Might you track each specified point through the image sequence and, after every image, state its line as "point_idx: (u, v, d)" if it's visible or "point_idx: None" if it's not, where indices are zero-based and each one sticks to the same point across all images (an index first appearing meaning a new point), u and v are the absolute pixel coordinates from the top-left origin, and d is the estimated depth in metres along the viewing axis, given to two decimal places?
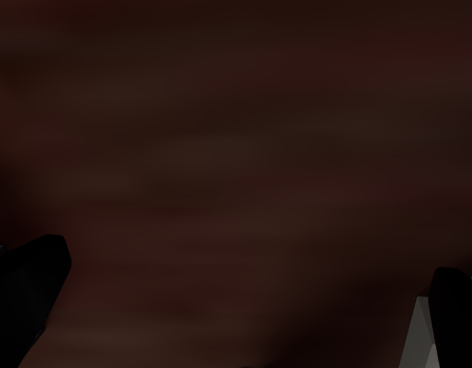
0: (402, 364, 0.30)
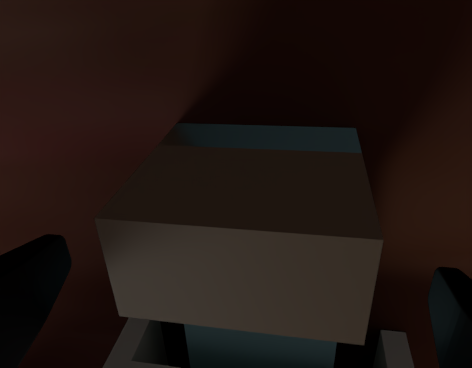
0: None
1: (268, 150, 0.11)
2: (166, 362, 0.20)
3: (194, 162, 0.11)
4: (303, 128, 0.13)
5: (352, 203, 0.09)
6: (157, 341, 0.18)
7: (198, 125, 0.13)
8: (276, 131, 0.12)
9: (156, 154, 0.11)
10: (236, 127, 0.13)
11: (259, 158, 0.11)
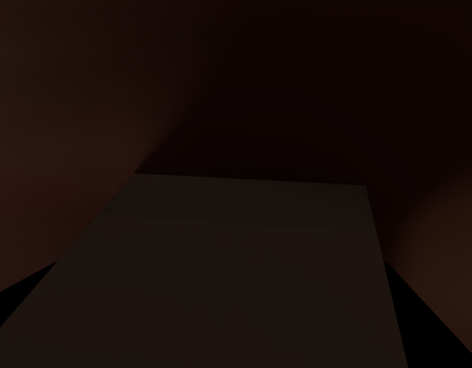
0: None
1: (247, 227, 0.08)
2: None
3: (140, 248, 0.08)
4: (296, 186, 0.10)
5: (369, 347, 0.05)
6: None
7: (159, 179, 0.10)
8: (260, 191, 0.09)
9: (91, 232, 0.08)
10: (208, 183, 0.10)
11: (233, 243, 0.08)
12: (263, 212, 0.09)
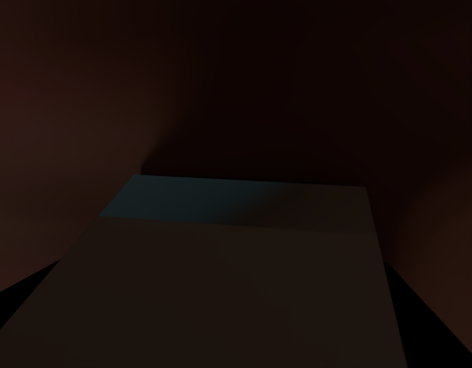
0: None
1: (247, 229, 0.08)
2: None
3: (140, 250, 0.08)
4: (296, 188, 0.10)
5: (369, 350, 0.05)
6: None
7: (159, 180, 0.10)
8: (260, 193, 0.09)
9: (91, 234, 0.08)
10: (208, 185, 0.10)
11: (232, 244, 0.08)
12: (263, 214, 0.09)
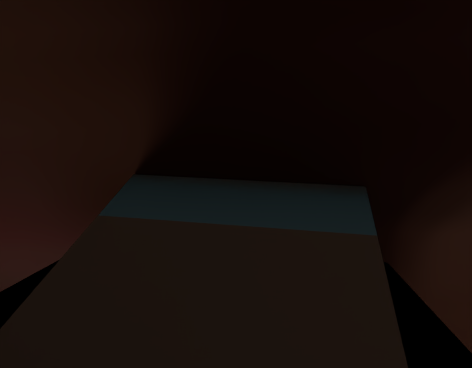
0: None
1: (247, 228, 0.08)
2: None
3: (140, 250, 0.08)
4: (296, 187, 0.10)
5: (369, 349, 0.05)
6: None
7: (159, 180, 0.10)
8: (260, 192, 0.09)
9: (91, 233, 0.08)
10: (208, 185, 0.10)
11: (232, 245, 0.08)
12: (263, 213, 0.09)
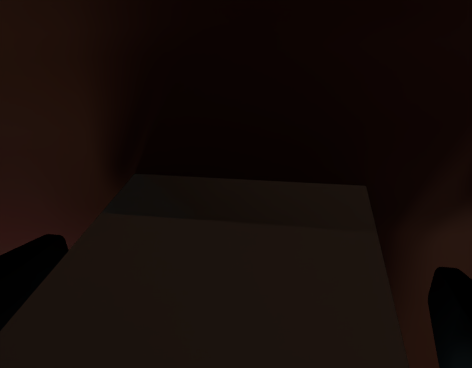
0: None
1: (249, 225, 0.08)
2: None
3: (143, 247, 0.08)
4: (297, 185, 0.10)
5: (369, 343, 0.06)
6: None
7: (161, 178, 0.10)
8: (261, 190, 0.09)
9: (94, 230, 0.08)
10: (210, 183, 0.10)
11: (235, 241, 0.08)
12: (264, 211, 0.09)
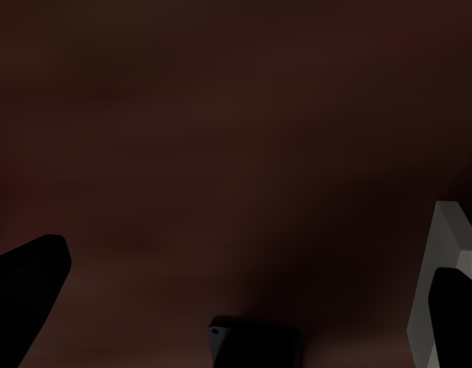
0: (417, 299, 0.23)
1: None
2: None
3: None
4: None
5: None
6: None
7: None
8: None
9: None
10: None
11: None
12: None
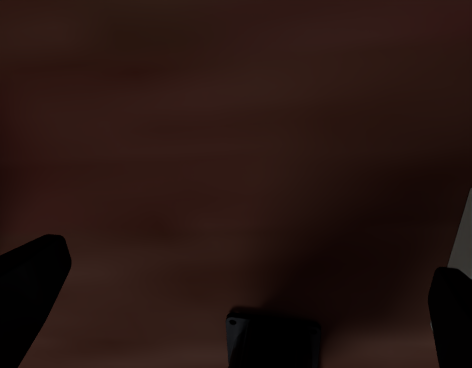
0: None
1: None
2: None
3: None
4: None
5: None
6: None
7: None
8: None
9: None
10: None
11: None
12: None
